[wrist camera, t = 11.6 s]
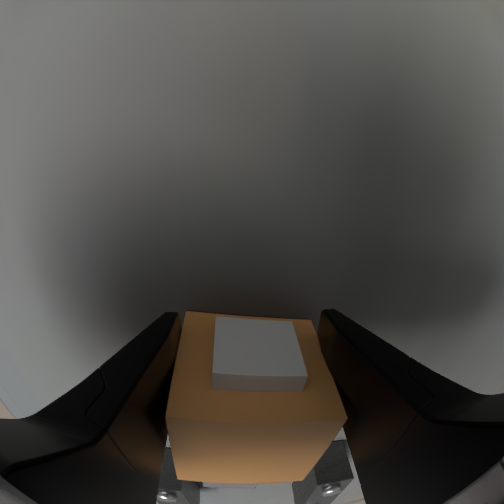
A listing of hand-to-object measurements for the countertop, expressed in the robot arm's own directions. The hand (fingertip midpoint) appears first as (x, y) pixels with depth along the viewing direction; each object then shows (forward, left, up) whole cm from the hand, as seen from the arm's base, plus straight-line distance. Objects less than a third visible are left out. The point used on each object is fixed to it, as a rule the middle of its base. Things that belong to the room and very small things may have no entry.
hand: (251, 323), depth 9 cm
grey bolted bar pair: (0, +15, -1) cm, 15 cm away
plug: (0, +5, -1) cm, 5 cm away
